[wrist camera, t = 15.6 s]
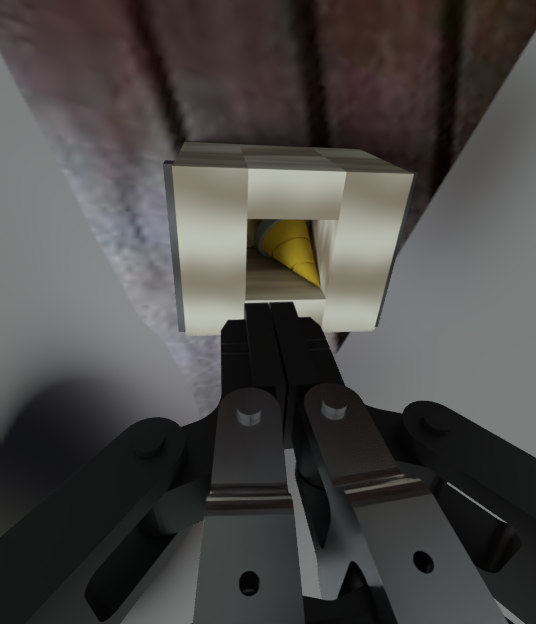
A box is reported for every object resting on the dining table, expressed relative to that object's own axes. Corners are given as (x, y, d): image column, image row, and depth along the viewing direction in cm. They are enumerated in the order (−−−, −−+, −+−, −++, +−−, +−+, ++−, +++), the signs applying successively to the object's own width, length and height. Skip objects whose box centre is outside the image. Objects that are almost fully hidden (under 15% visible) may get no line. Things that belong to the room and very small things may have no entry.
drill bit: (299, 189, 35) (358, 264, 30) (273, 231, 38) (323, 304, 34) (256, 182, 31) (315, 265, 27) (232, 229, 35) (281, 309, 30)
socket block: (177, 141, 31) (161, 165, 22) (365, 149, 34) (422, 174, 24) (187, 275, 38) (178, 336, 29) (343, 274, 40) (380, 330, 31)
